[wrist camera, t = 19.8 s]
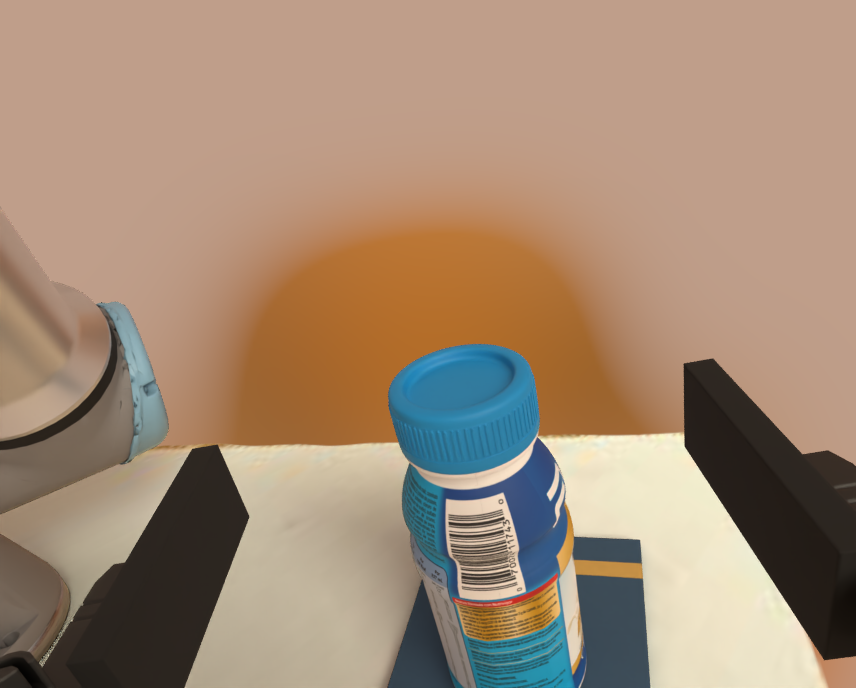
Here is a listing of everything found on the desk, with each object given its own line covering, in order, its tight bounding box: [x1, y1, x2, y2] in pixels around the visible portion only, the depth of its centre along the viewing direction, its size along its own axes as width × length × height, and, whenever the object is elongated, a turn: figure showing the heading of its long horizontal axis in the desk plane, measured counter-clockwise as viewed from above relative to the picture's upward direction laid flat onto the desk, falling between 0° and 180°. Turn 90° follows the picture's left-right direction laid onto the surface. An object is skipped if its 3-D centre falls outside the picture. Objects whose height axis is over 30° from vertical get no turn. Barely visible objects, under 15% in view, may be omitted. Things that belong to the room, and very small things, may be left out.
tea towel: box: [388, 537, 650, 688], centre depth 36 cm, size 20×15×1 cm
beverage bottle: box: [388, 344, 587, 688], centre depth 31 cm, size 8×8×20 cm
